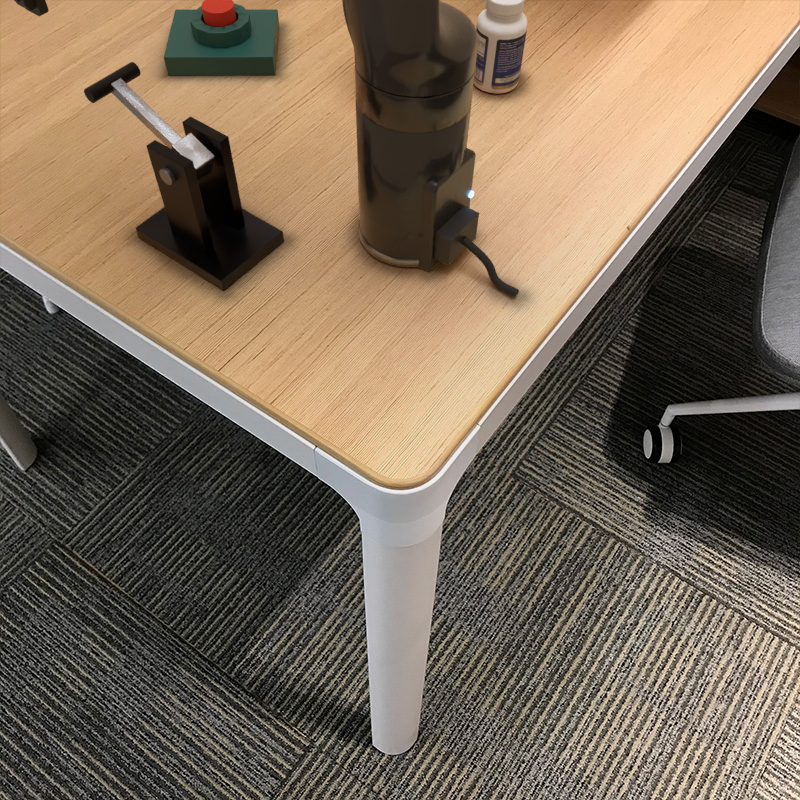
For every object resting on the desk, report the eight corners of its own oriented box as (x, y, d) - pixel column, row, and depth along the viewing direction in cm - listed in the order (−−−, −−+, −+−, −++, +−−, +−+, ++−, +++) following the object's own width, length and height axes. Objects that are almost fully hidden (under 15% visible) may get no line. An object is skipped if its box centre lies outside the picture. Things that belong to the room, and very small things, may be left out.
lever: (83, 100, 64) (83, 81, 61) (129, 73, 66) (131, 53, 64) (180, 194, 64) (183, 178, 62) (223, 164, 66) (227, 147, 64)
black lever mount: (138, 237, 71) (103, 138, 63) (200, 192, 75) (176, 93, 66) (223, 291, 68) (200, 194, 59) (284, 241, 72) (270, 143, 63)
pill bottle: (524, 74, 88) (539, -12, 80) (509, 100, 85) (523, 13, 77) (480, 63, 89) (490, -23, 81) (464, 87, 86) (472, 1, 78)
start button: (237, 11, 87) (235, -4, 86) (235, 28, 85) (232, 13, 84) (205, 11, 87) (203, -4, 86) (202, 28, 85) (199, 13, 84)
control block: (279, 27, 92) (275, -7, 89) (275, 75, 87) (270, 41, 83) (179, 27, 92) (171, -7, 89) (168, 75, 86) (159, 41, 83)
